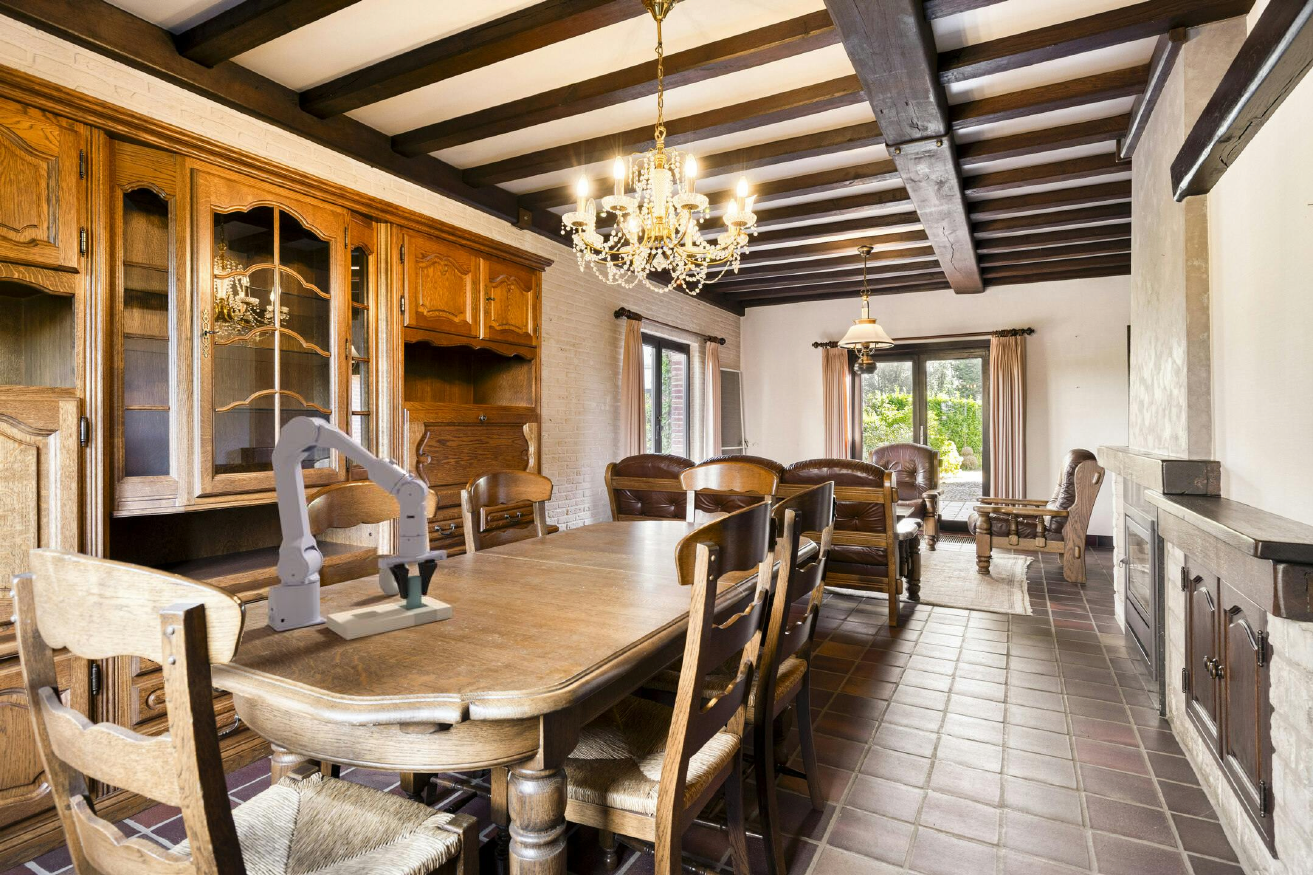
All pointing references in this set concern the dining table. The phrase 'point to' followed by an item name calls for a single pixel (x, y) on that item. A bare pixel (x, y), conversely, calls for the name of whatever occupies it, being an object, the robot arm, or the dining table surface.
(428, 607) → the peg board
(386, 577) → the donut
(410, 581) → the peg
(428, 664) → the dining table surface
